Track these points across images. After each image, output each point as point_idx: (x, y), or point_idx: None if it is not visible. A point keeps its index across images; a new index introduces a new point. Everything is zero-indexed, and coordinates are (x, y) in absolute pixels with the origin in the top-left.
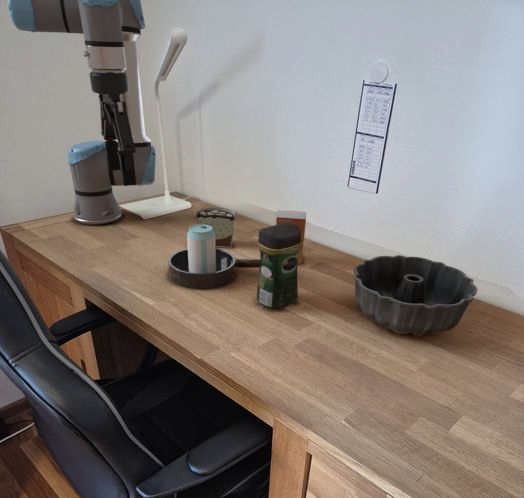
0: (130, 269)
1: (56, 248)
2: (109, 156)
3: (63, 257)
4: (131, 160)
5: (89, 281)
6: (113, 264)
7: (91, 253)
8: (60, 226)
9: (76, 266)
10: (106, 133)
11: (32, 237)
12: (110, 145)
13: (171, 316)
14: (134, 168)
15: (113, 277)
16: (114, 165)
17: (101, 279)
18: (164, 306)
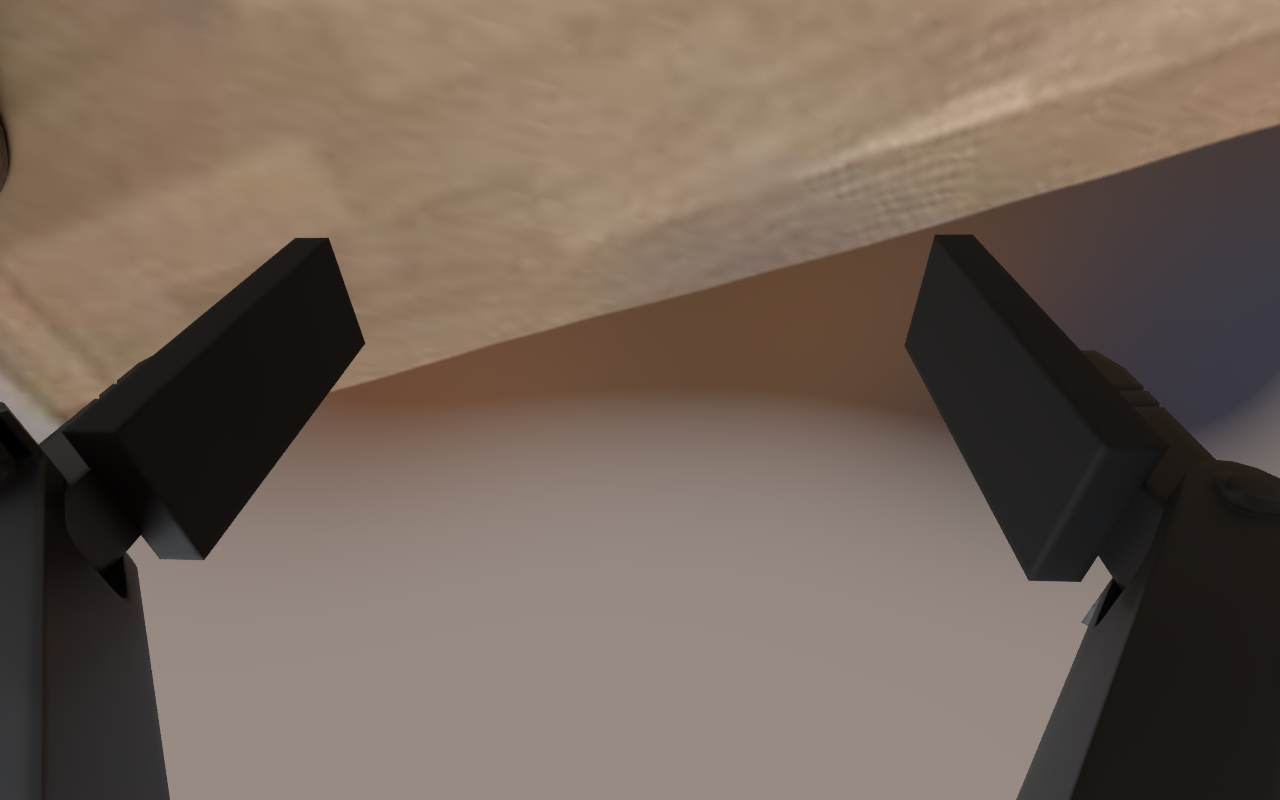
0: (630, 94)
1: None
2: (294, 412)
3: (423, 325)
4: (1187, 439)
5: (681, 282)
6: (546, 157)
7: (397, 221)
8: (54, 283)
9: (524, 299)
10: (140, 654)
11: None
12: (205, 475)
13: (1194, 48)
14: (1052, 322)
15: (685, 190)
16: (327, 320)
17: (683, 239)
18: (1088, 49)
